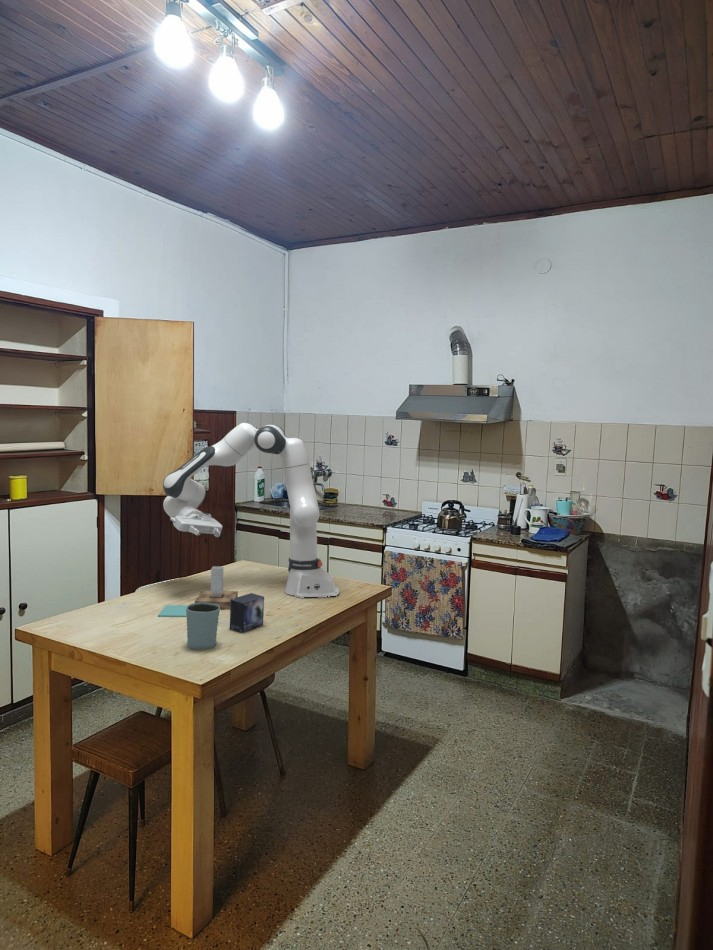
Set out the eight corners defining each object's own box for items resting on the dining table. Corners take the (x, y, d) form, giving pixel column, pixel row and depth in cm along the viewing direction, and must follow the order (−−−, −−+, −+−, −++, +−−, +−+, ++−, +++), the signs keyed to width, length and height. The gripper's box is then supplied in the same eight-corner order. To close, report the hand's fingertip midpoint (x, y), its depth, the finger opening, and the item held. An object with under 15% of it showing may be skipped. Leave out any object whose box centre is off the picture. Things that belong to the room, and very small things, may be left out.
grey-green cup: (181, 642, 191) (181, 604, 190) (211, 636, 197) (212, 600, 196) (192, 652, 183) (193, 613, 182) (224, 646, 189) (225, 608, 188)
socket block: (237, 598, 239) (237, 591, 239) (233, 609, 225) (233, 601, 225) (201, 598, 238) (201, 590, 238) (194, 609, 224) (194, 601, 224)
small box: (242, 634, 201) (243, 602, 200) (228, 629, 204) (229, 599, 203) (264, 625, 210) (265, 595, 209) (250, 621, 213) (251, 592, 212)
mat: (198, 606, 227) (198, 605, 227) (192, 617, 215) (192, 615, 215) (165, 606, 226) (165, 605, 226) (157, 616, 214) (157, 615, 214)
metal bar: (222, 602, 234) (223, 566, 233) (221, 605, 230) (222, 569, 229) (212, 602, 234) (212, 566, 232) (210, 605, 230) (211, 568, 228)
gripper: (170, 509, 235) (189, 525, 226) (212, 514, 251) (231, 529, 242) (165, 524, 236) (183, 540, 227) (207, 528, 252) (226, 543, 243)
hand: (208, 534), depth 235 cm, fingers open, 8 cm apart
